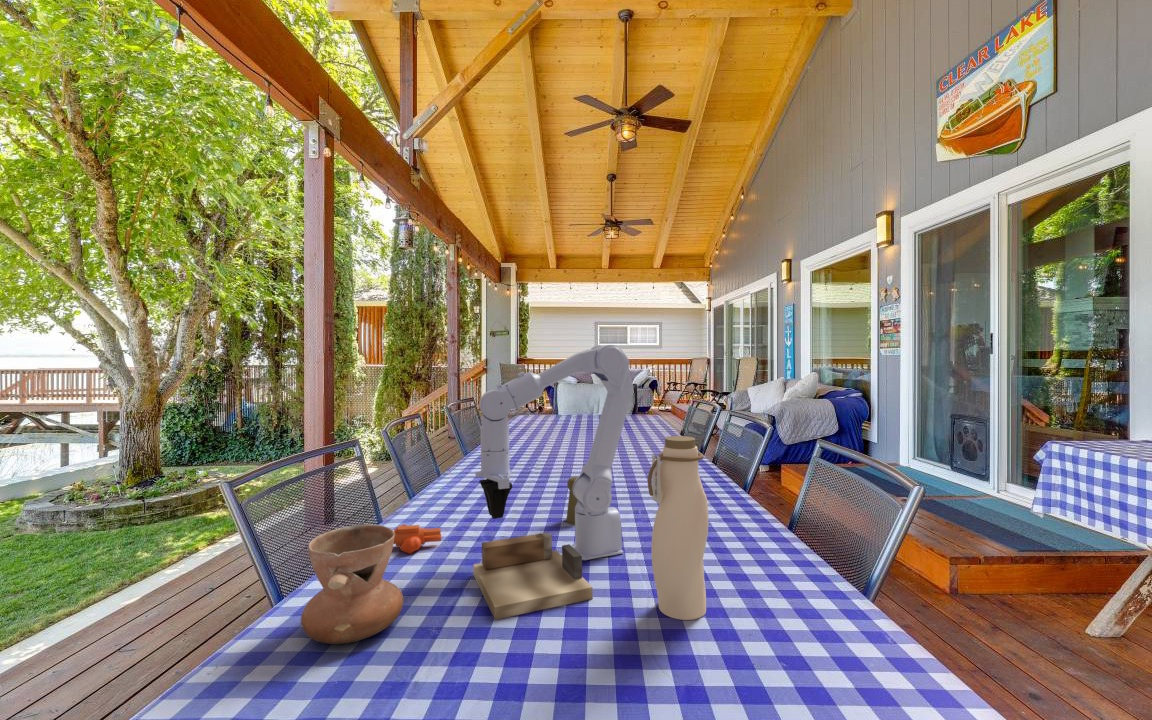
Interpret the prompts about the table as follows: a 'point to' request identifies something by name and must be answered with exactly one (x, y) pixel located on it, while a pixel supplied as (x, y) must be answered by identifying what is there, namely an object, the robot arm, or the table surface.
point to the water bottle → (679, 529)
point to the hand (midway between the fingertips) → (496, 516)
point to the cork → (571, 502)
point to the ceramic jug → (351, 585)
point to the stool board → (534, 584)
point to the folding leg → (516, 550)
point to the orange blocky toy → (414, 537)
